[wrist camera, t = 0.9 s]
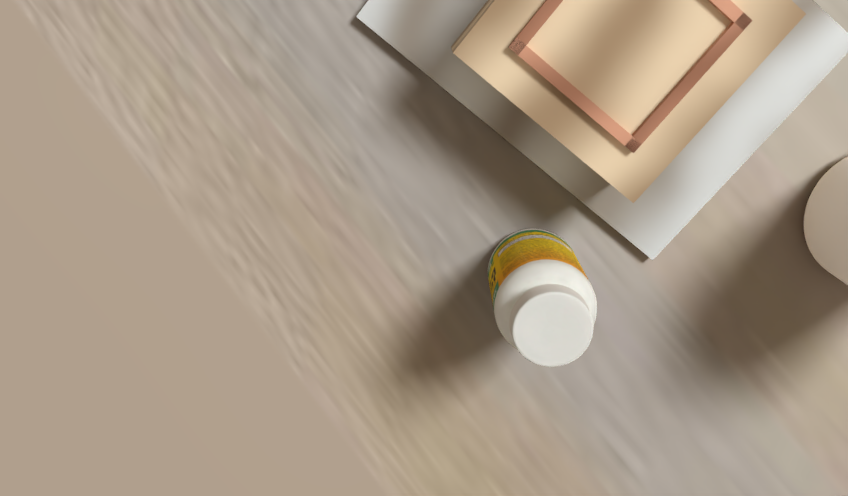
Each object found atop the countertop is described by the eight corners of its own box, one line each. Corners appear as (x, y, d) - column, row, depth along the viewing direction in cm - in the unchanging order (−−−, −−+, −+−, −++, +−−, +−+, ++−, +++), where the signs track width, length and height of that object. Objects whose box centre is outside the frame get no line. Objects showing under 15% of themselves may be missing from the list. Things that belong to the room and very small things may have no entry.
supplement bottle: (588, 291, 49) (623, 359, 40) (505, 322, 50) (521, 396, 41) (558, 212, 48) (587, 263, 38) (473, 244, 48) (482, 303, 39)
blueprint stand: (852, 41, 45) (913, 48, 39) (650, 257, 48) (678, 292, 43) (550, -243, 41) (569, -282, 35) (357, 16, 44) (345, 19, 39)
